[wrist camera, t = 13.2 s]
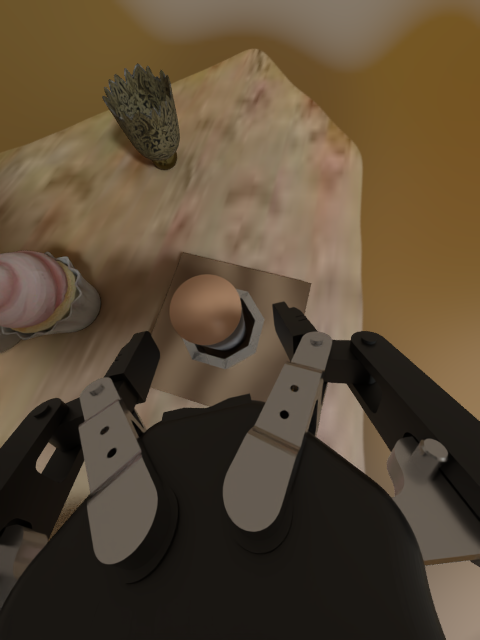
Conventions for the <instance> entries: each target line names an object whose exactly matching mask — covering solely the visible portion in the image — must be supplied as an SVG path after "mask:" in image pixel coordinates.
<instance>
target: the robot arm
mask: <svg viewBox="0 0 480 640" xmlns="http://www.w3.org/2000/svg"><path fill="white" fill-rule="evenodd" d="M272 309H273V318H274V326H275V331H276V333H277V335H278V337H279V340H280V342H281V344H282V346H283V348H284V350H285V352H286V354H287V356H288V358H289V360H290V362H288V361H287V362H286V363H285V364H284V366H283V368H282V370H281V372H280V374H279V377H278V379H277V381H276V383H275V385H274V387H273V389H272V391H271V393H270V395H269V397H268V399H267V401H266V402H263V401H258V400H252V399H251V395H250V393H249V394H245V395H240V396H236V397H231V398H228V399H226V400H224V401H221V402H219V403H217V404H215V405H213V406H211V407H208V408H182V409H177V410H173V411H168V412H164V413H163V417H162V421H160V422H158V423H156V424H155V425H153V426H152V427H150V428H149V429H148V430H147V429H146V428H145V426H144V424H143V422H142V420H141V418H140V416H139V415H138V413H137V411H136V410H135V409H134V407H135V405H136V404H139V403H144V402H145V401H146V398H147V395H148V392H149V389H150V386H151V383H152V380H153V377H154V375H155V372H156V369H157V366H158V363H159V360H160V351H159V349H158V347H157V345H156V343H155V341H154V339H153V338H152V336H151V334H150V332H148V331H145V332H140V333H136V334H134V335H133V337H132V339H131V340H130V342H129V343H128V344H127V345H125V346H124V347H123V348H122V349H121V351H120V352H119V354H118V356H117V357H116V359H115V360H114V361H115V362H113V363H112V365H111V367H110V368H109V370H108V371H107V373H106V375H105V376H104V378H101V379H98V380H96V381H94V382H92V383H91V384H89V385H88V386H87V387H86V388H85V389H84V390H83V391H82V393H81V395H80V397H79V398H77V399H75V400H73V401H70V402H68V403H66V404H65V403H64V402H63V401H62V400H61V399H59V398H54V399H50V400H48V401H46V402H44V403H42V404H40V405H39V406H37V407H36V408H35V409H34V410H32V411H31V412H30V413H29V414H28V415H27V417H26V418H25V419H24V420H23V421H22V423H21V424H20V425H19V426H18V428H17V429H16V430H15V431H14V432H13V434H12V435H11V436H10V437H9V439H8V440H7V441H6V442H5V443H4V445H3V446H2V447H1V448H0V640H446V638H445V635H444V633H443V630H442V628H441V624H440V622H439V619H438V616H437V613H436V610H435V607H434V604H433V600H432V596H431V593H430V589H429V584H428V580H427V576H426V571H425V566H428V565H436V564H443V563H452V562H461V561H471V562H472V563H474V564H476V565H477V566H479V567H480V421H478V420H477V419H476V418H475V417H474V416H473V415H472V414H471V413H469V412H468V411H467V410H466V409H464V407H463V406H461V405H460V404H459V403H458V402H457V401H456V400H455V399H453V398H452V397H451V396H450V395H449V394H448V393H447V392H445V391H444V390H443V389H442V388H441V387H440V386H439V385H437V384H436V383H435V382H434V381H433V380H432V379H431V378H430V377H428V376H427V375H426V374H425V373H424V372H423V371H422V370H420V369H419V368H418V367H417V366H416V365H414V364H413V363H412V362H411V361H410V360H409V359H408V358H407V357H406V356H404V355H403V354H402V353H401V352H400V351H399V350H398V349H396V348H395V347H394V346H393V345H392V344H391V343H389V342H388V341H387V340H386V339H385V338H384V337H382V336H380V335H379V334H377V333H374V332H368V331H361V332H356V333H354V334H353V335H352V336H351V340H332V339H331V337H330V336H329V335H327V334H325V333H322V332H318V331H317V330H316V329H315V327H314V326H313V325H312V324H311V323H310V321H309V320H308V319H307V318H306V316H304V314H303V313H302V311H301V310H299V309H297V308H295V307H292V308H289V307H288V306H287V304H286V303H285V302H284V301H283V302H279V303H274V304H272ZM20 340H21V338H20V337H19V336H18V335H17V334H16V333H15V334H9V335H6V334H3V333H2V331H1V326H0V353H2V352H4V351H6V350H8V349H10V348H11V347H13V346H14V345H15V344H17V343H18V342H19V341H20ZM328 382H331V383H346V384H347V385H348V387H349V388H350V390H351V391H352V393H353V394H354V396H355V397H356V399H357V400H358V402H359V403H360V405H361V407H362V408H363V410H364V411H365V413H366V414H367V416H368V417H369V419H370V420H371V422H372V423H373V425H374V426H375V428H376V429H377V431H378V433H379V434H380V436H381V437H382V439H383V440H384V442H385V443H386V445H387V446H388V448H389V449H390V451H391V454H390V456H389V458H388V460H387V470H388V473H389V475H390V478H391V480H392V482H393V485H394V489H395V497H393V498H391V497H390V496H389V494H388V493H387V492H386V491H385V490H384V489H383V488H382V487H381V486H379V485H378V484H377V483H376V482H375V481H374V480H372V479H371V478H370V477H368V476H367V475H366V474H364V473H363V472H362V471H360V470H359V469H358V468H356V467H355V466H354V465H352V464H351V463H350V462H348V461H347V460H346V459H345V458H343V457H342V456H341V455H339V454H338V453H337V452H335V451H334V450H333V449H331V448H330V447H329V446H327V445H326V444H325V443H323V442H322V441H321V440H319V439H318V438H317V437H316V435H317V431H318V427H319V421H320V415H321V410H322V406H323V402H324V398H325V394H326V390H327V385H328ZM48 442H49V443H50V444H52V445H53V446H55V447H56V450H55V452H54V453H53V455H52V457H51V458H50V460H49V462H48V463H47V465H46V467H45V468H44V470H43V472H42V474H40V473H39V472H37V470H36V461H37V459H38V457H39V456H40V454H41V453H42V451H43V449H44V448H45V446H46V445H47V443H48ZM84 460H85V465H86V471H87V476H88V482H89V487H90V494H89V496H88V497H87V498H86V499H85V500H84V501H83V503H82V504H81V505H80V506H79V507H78V508H77V509H76V511H75V512H74V513H73V514H72V515H71V516H70V517H69V519H68V520H67V521H66V522H65V523H64V524H63V526H62V527H61V528H60V529H59V530H58V531H57V532H56V534H55V535H54V536H53V537H52V538H51V539H50V540H49V542H48V539H49V537H50V535H51V532H52V530H53V528H54V526H55V524H56V521H57V519H58V517H59V515H60V513H61V510H62V508H63V506H64V504H65V502H66V499H67V497H68V495H69V493H70V490H71V488H72V486H73V484H74V482H75V479H76V477H77V475H78V473H79V471H80V468H81V466H82V464H83V462H84Z"/></svg>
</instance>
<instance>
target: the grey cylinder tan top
mask: <svg viewBox="0 0 480 640" xmlns="http://www.w3.org/2000/svg"><path fill="white" fill-rule="evenodd" d="M169 314H170V320H171V323H172V325H173V327H174V329H175V331H176V332H177V333H178V334H179V335H180V336H181V337H182V338H183V339H185V340H187V341H189V342H191V343H194V344H198V345H201V346H205V347H209V348H213V349H217V350H221V351H232V350H234V349H236V348H238V347H239V346H240V345H241V344H242V343H243V341H244V339H245V336H246V326H245V321H244V316H243V311H242V306H241V301H240V297H239V294H238V292H237V290H236V289H235V288H234V286H233V285H232V284H231V283H230V282H229V281H227V280H226V279H224V278H222V277H220V276H216V275H211V274H204V275H198V276H195V277H192V278H190V279H188V280H187V281H185V282H184V283H183V284H181V285H180V287H179V288H178V289H177V290H176V291H175V293H174V295H173V297H172V300H171V303H170V310H169Z"/></svg>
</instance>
